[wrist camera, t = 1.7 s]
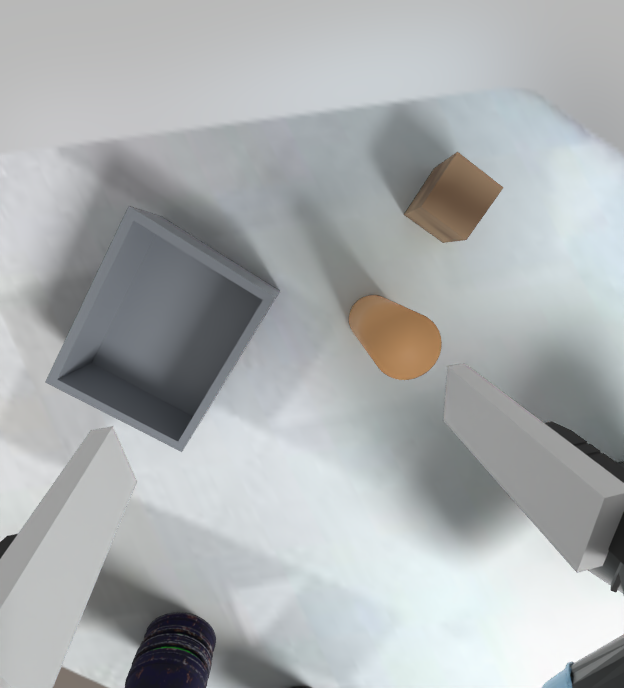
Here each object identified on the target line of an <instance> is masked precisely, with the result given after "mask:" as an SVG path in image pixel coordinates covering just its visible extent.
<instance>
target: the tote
mask: <svg viewBox="0 0 624 688" xmlns="http://www.w3.org/2000/svg"><path fill="white" fill-rule="evenodd" d="M279 292H280V291H279V290H278V289H276V288H274V287H273V286H271V285H270V284H268V283H266V282H265V281H263V280H262V279H260V278H258V277H257V276H255V275H254V274H252V273H251V272H249V271H247V270H246V269H244V268H243V267H241V266H239V265H238V264H236V263H235V262H233V261H231V260H230V259H228V258H227V257H225V256H223V255H222V254H220V253H219V252H217V251H215V250H214V249H212V248H211V247H209V246H207V245H206V244H204V243H203V242H201V241H199V240H198V239H196V238H195V237H193V236H191V235H190V234H188V233H187V232H185V231H184V230H182V229H180V228H179V227H177V226H176V225H174V224H172V223H171V222H169V221H168V220H166V219H164V218H163V217H161V216H159V215H156V214H153V213H149V212H146V211H143V210H140V209H137V208H134V207H131V206H128V209H127V211H126V213H125V215H124V217H123V219H122V221H121V223H120V225H119V228H118V230H117V232H116V234H115V236H114V238H113V240H112V242H111V244H110V247H109V249H108V251H107V253H106V255H105V257H104V259H103V261H102V263H101V266H100V268H99V270H98V272H97V274H96V276H95V278H94V280H93V282H92V285H91V287H90V289H89V291H88V293H87V295H86V297H85V299H84V301H83V303H82V306H81V308H80V310H79V312H78V314H77V316H76V318H75V320H74V322H73V325H72V327H71V329H70V331H69V333H68V335H67V337H66V339H65V341H64V344H63V346H62V348H61V350H60V352H59V354H58V356H57V358H56V360H55V363H54V365H53V367H52V369H51V371H50V373H49V375H48V377H47V379H46V383H48V384H50V385H52V386H54V387H55V388H57V389H59V390H61V391H63V392H65V393H67V394H69V395H71V396H73V397H75V398H77V399H79V400H81V401H83V402H85V403H87V404H89V405H91V406H93V407H95V408H97V409H99V410H101V411H103V412H104V413H106V414H108V415H110V416H112V417H114V418H116V419H118V420H120V421H122V422H124V423H126V424H128V425H130V426H132V427H134V428H136V429H138V430H140V431H142V432H144V433H146V434H148V435H150V436H152V437H154V438H155V439H157V440H159V441H161V442H163V443H165V444H167V445H169V446H171V447H173V448H175V449H177V450H179V451H181V452H182V451H183V449H184V448H185V446H186V444H187V443H188V441H189V440H190V438H191V437H192V435H193V433H194V432H195V430H196V429H197V427H198V425H199V424H200V422H201V421H202V419H203V417H204V416H205V414H206V412H207V411H208V409H209V407H210V406H211V404H212V402H213V401H214V399H215V397H216V396H217V394H218V392H219V391H220V389H221V388H222V386H223V384H224V383H225V381H226V379H227V378H228V376H229V374H230V373H231V371H232V369H233V368H234V366H235V364H236V363H237V361H238V359H239V358H240V356H241V355H242V353H243V351H244V350H245V348H246V346H247V345H248V343H249V341H250V340H251V338H252V336H253V335H254V333H255V331H256V330H257V328H258V326H259V325H260V323H261V322H262V320H263V318H264V317H265V315H266V313H267V312H268V310H269V308H270V307H271V305H272V303H273V302H274V300H275V298H276V297H277V295H278V293H279Z"/></svg>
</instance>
